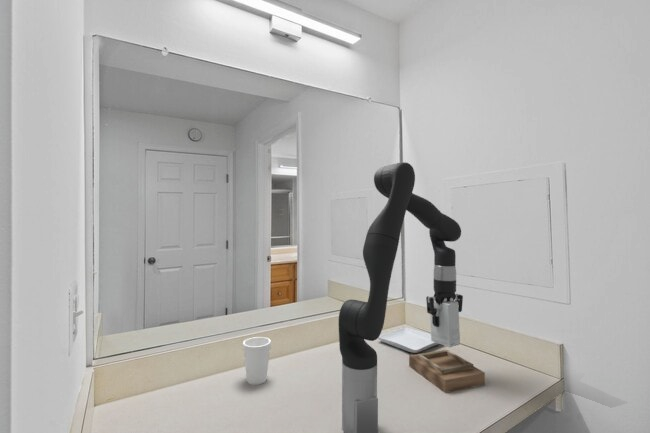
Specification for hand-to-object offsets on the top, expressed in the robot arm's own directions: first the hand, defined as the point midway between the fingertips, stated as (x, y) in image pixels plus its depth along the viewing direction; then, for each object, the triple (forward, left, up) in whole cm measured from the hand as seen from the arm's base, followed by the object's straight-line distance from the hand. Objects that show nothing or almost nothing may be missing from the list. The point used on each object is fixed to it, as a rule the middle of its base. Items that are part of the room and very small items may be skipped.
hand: (444, 325), depth 119 cm
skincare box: (0, 0, -6) cm, 6 cm away
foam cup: (+18, +63, -18) cm, 68 cm away
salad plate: (+29, -5, -18) cm, 35 cm away
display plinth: (0, 0, -18) cm, 18 cm away
